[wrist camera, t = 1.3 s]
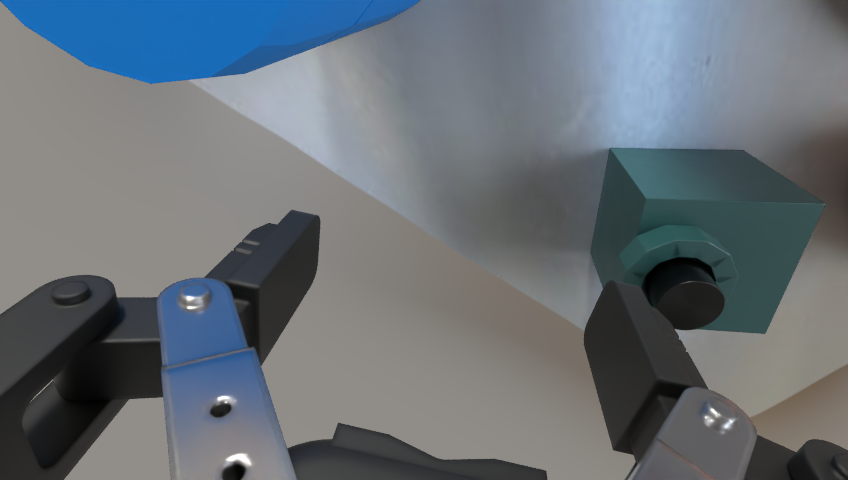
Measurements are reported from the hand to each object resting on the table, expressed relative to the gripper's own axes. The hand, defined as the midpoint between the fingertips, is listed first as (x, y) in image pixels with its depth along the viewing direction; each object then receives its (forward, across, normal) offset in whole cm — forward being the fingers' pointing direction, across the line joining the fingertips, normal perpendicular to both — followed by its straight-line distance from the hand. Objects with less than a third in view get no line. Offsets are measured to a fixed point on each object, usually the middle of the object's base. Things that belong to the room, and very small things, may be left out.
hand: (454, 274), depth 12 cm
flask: (+26, -17, +6) cm, 32 cm away
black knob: (+15, -15, +7) cm, 22 cm away
